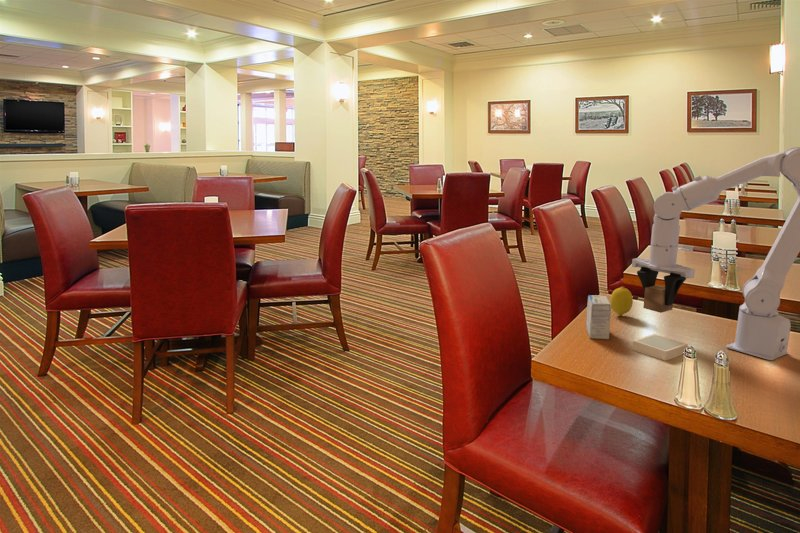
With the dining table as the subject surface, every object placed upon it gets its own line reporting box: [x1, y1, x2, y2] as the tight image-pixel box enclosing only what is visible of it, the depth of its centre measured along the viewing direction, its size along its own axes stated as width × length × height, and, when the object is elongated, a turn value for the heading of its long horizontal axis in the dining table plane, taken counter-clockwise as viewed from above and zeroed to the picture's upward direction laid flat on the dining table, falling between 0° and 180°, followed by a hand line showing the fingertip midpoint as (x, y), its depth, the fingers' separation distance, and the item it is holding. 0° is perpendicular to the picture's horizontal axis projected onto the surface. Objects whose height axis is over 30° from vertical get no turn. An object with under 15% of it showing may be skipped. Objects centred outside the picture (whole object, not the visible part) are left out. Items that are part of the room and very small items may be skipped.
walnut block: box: [643, 284, 674, 314], centre depth 133 cm, size 4×4×5 cm
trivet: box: [631, 333, 688, 361], centre depth 126 cm, size 8×8×2 cm
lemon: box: [609, 286, 634, 317], centre depth 150 cm, size 6×6×8 cm
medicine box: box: [585, 294, 612, 340], centre depth 136 cm, size 8×4×9 cm, turn 168°
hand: (658, 302), depth 133 cm, fingers closed on walnut block, 4 cm apart
